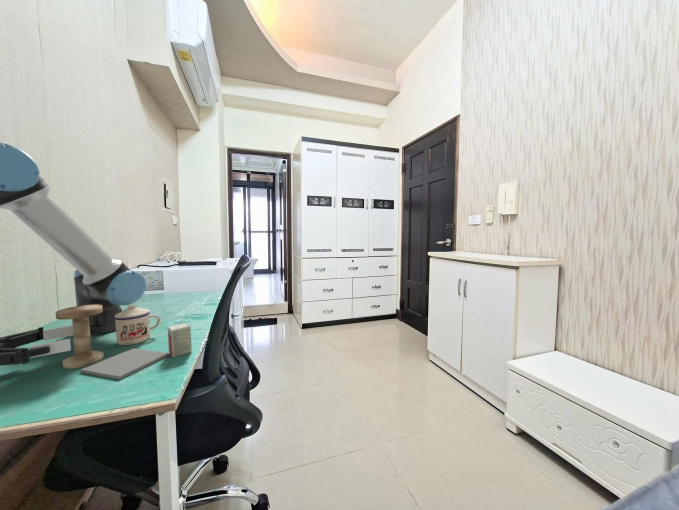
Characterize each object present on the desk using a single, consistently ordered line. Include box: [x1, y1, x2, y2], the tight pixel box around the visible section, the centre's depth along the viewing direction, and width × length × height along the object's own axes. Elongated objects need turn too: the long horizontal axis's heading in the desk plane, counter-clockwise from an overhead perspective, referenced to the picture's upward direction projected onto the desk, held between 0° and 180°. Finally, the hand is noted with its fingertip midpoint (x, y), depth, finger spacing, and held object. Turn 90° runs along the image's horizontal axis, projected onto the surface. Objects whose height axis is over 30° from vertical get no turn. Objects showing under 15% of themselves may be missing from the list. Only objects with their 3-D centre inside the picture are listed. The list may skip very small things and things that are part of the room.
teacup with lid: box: [114, 304, 161, 346], centre depth 87 cm, size 12×9×12 cm
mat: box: [80, 347, 170, 381], centre depth 71 cm, size 13×13×1 cm
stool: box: [54, 305, 104, 370], centre depth 72 cm, size 9×9×14 cm
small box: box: [167, 322, 192, 358], centre depth 77 cm, size 5×4×8 cm
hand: (74, 336), depth 71 cm, fingers open, 13 cm apart
